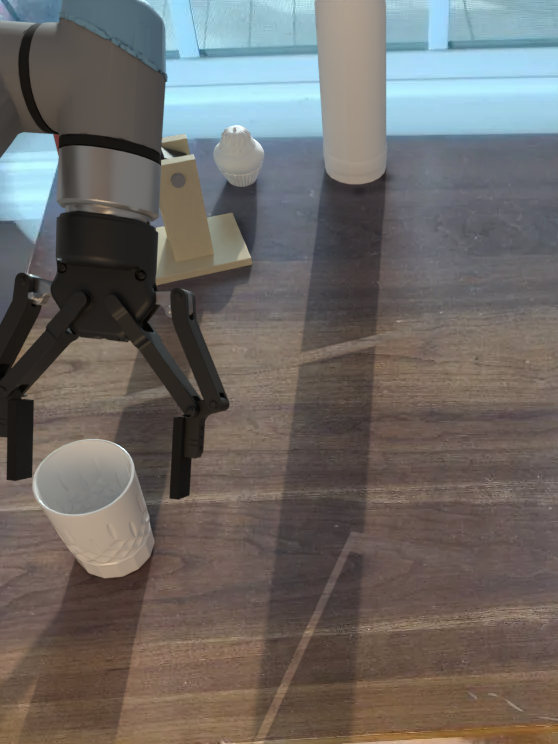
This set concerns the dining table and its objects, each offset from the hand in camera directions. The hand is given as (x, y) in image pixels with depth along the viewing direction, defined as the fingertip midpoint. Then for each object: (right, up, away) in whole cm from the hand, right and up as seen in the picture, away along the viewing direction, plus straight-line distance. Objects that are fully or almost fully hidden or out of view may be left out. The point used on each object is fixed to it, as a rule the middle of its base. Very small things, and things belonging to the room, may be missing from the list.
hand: (99, 488), depth 71 cm
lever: (-4, +34, +17) cm, 39 cm away
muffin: (+5, +41, +37) cm, 55 cm away
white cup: (0, -5, +6) cm, 7 cm away
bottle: (+19, +43, +39) cm, 61 cm away
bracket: (+1, +29, +28) cm, 41 cm away
